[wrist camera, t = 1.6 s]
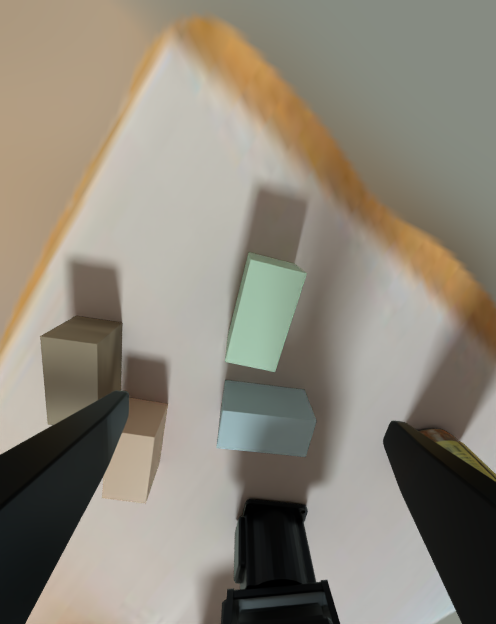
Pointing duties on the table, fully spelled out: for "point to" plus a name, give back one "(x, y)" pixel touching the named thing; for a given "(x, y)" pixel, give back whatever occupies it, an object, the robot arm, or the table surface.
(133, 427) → the tan brick
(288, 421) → the slate brick
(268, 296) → the sage brick
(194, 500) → the table surface
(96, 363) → the walnut brick
